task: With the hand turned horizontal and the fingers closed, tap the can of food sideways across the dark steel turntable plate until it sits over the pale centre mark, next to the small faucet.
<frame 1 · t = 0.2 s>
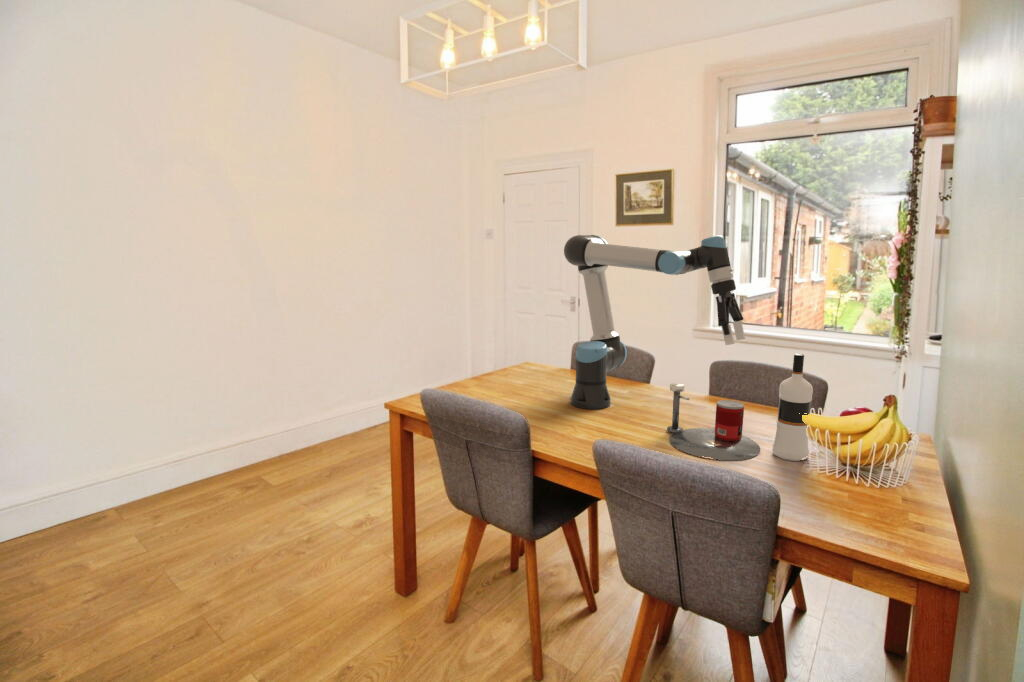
hand: (735, 342, 181), 27 cm above the table, tool tilted 15°, fingers open, 13 cm apart
canned food: (727, 437, 167), resting on turntable
vodka: (789, 456, 153), on the table
turntable: (713, 443, 163), on the table
faucet: (674, 431, 174), on the table
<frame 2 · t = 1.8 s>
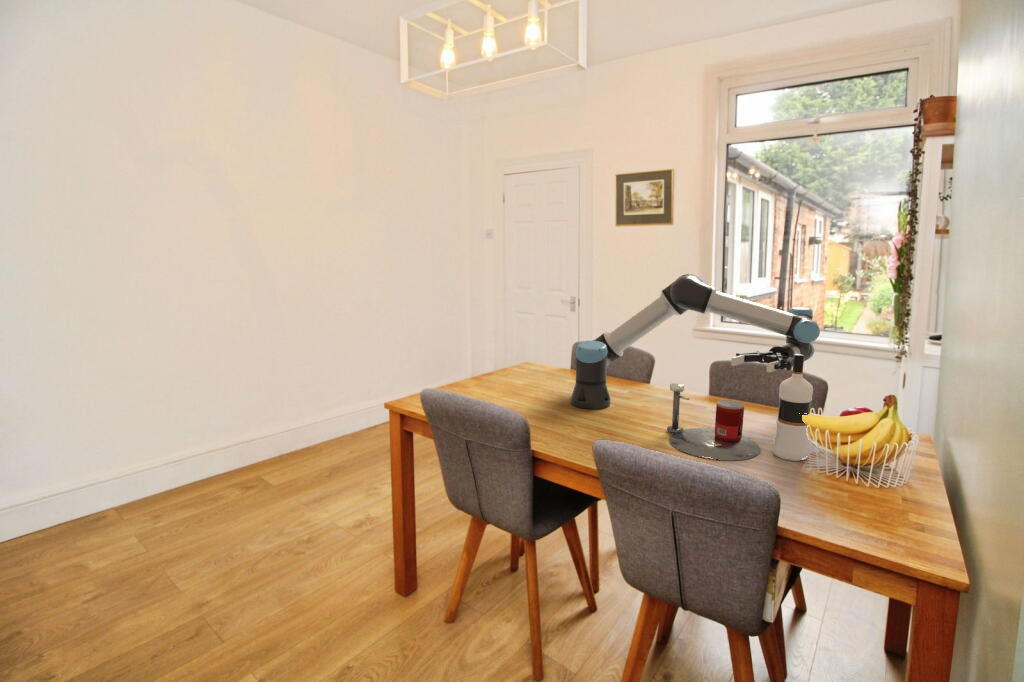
hand: (749, 364, 169), 22 cm above the table, tool horizontal, fingers open, 11 cm apart
nothing on the table moved.
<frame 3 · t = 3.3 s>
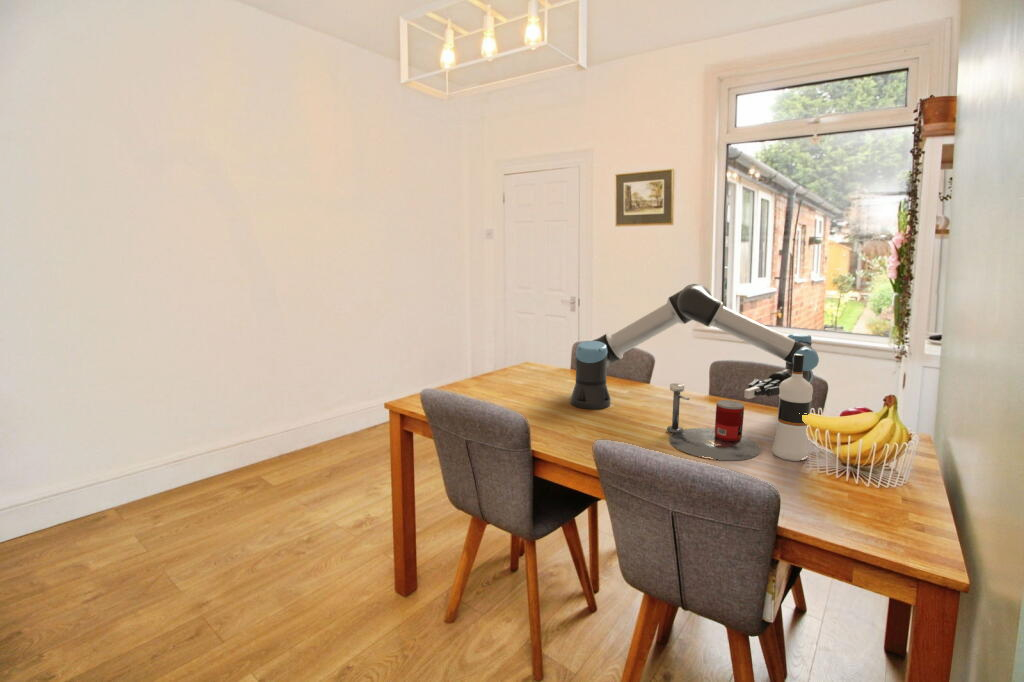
hand: (746, 394, 170), 13 cm above the table, tool horizontal, fingers closed
nothing on the table moved.
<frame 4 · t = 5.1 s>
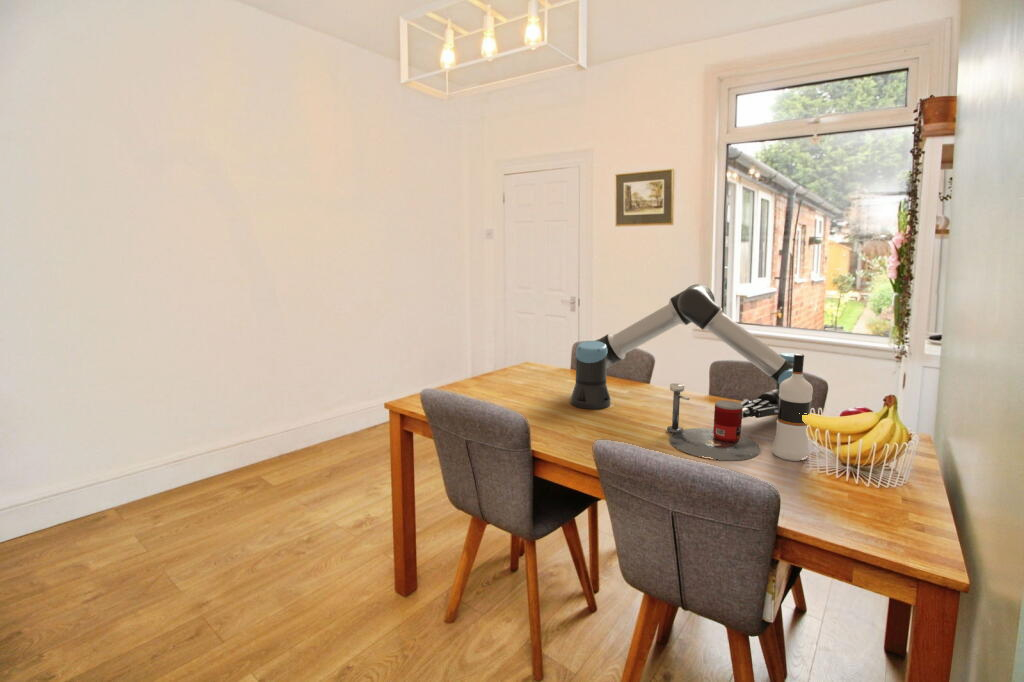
hand: (735, 416, 168), 6 cm above the table, tool horizontal, fingers closed
canned food: (726, 438, 167), resting on turntable, touching gripper
everything else where it was.
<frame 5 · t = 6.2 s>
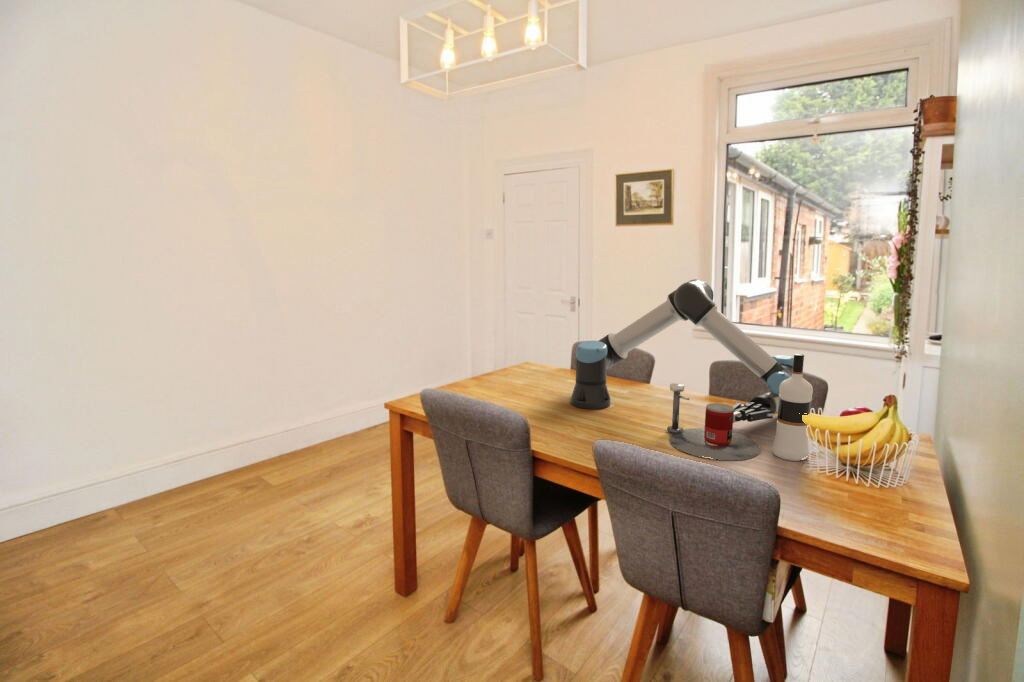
hand: (727, 419, 165), 6 cm above the table, tool horizontal, fingers closed
canned food: (717, 441, 164), resting on turntable, touching gripper
everything else where it was.
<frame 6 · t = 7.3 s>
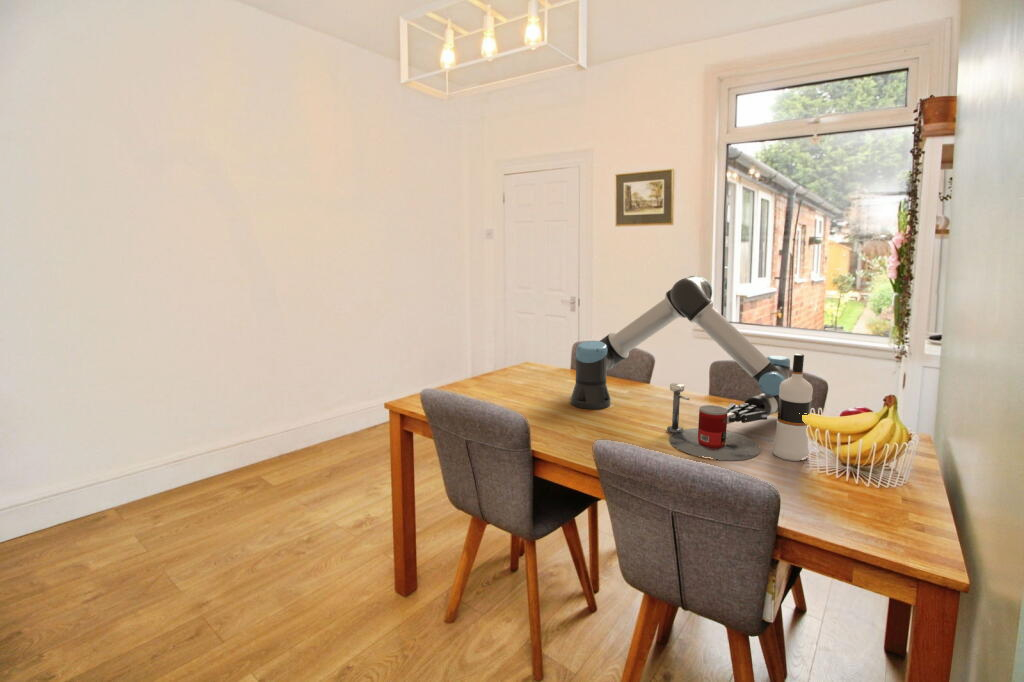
hand: (720, 421, 163), 7 cm above the table, tool horizontal, fingers closed
canned food: (711, 444, 162), resting on turntable, touching gripper
everything else where it was.
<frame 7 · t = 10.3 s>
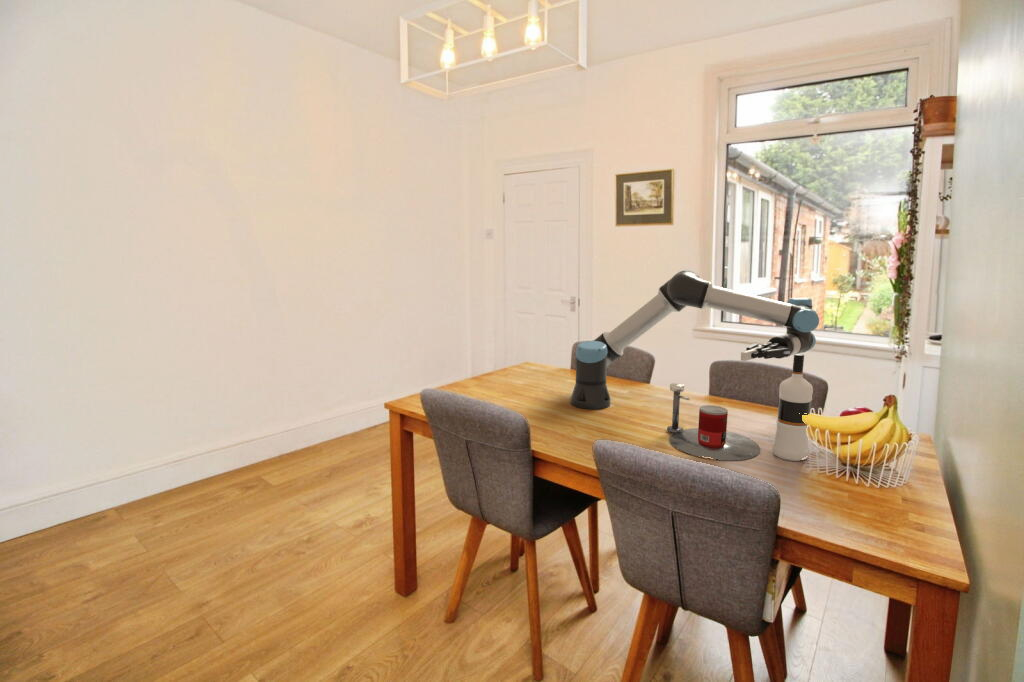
hand: (743, 356, 168), 25 cm above the table, tool horizontal, fingers closed
canned food: (711, 444, 162), resting on turntable
everything else where it was.
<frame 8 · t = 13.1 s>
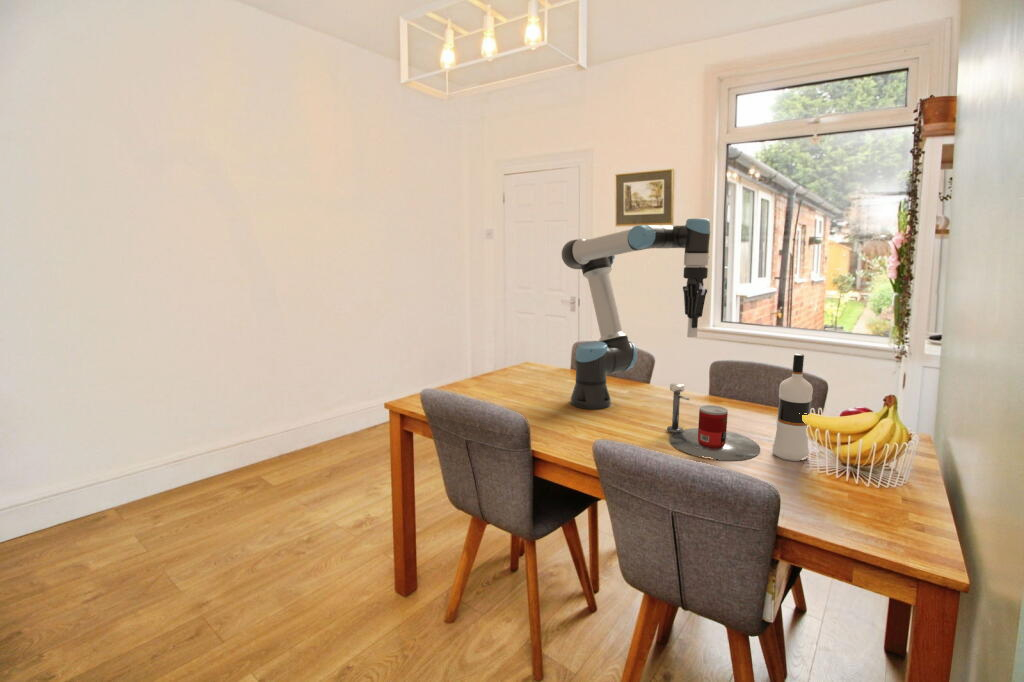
hand: (692, 336, 179), 29 cm above the table, tool pointing down, fingers closed
nothing on the table moved.
at the end: canned food 1.0 cm from the turntable (horizontally); canned food tilted 0°; canned food touching turntable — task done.
